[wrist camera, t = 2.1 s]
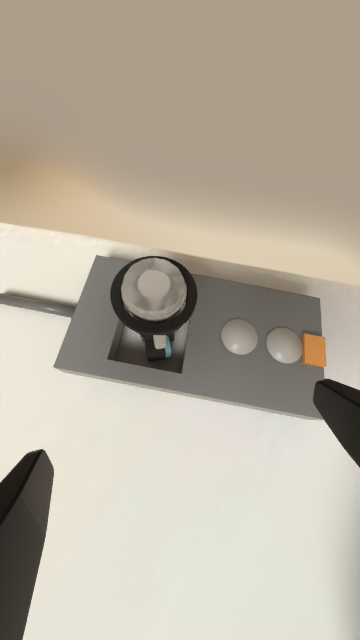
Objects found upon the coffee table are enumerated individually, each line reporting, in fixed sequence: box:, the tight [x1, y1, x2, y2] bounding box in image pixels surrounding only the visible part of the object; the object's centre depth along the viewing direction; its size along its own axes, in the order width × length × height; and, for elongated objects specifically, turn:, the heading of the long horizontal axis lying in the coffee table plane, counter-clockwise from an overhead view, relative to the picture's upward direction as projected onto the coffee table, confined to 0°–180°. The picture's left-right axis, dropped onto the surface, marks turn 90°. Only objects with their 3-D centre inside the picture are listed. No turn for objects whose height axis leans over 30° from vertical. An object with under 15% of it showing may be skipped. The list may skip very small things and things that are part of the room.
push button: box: [110, 256, 198, 362], centre depth 18 cm, size 7×5×10 cm
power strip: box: [0, 255, 326, 420], centre depth 22 cm, size 30×11×3 cm, turn 80°
